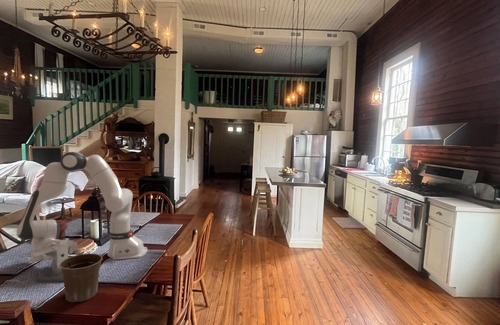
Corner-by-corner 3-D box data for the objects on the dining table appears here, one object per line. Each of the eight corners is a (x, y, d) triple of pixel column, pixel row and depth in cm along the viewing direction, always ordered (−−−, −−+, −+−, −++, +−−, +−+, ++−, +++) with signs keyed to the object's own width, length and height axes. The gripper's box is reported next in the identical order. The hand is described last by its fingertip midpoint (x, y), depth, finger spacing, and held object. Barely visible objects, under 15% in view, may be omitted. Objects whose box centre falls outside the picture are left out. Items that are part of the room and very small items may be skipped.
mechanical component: (71, 236, 193) (58, 241, 183) (59, 235, 195) (46, 240, 185) (70, 219, 192) (58, 223, 182) (58, 218, 194) (45, 222, 184)
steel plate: (82, 267, 149) (82, 263, 148) (67, 281, 135) (67, 276, 134) (54, 268, 147) (54, 263, 147) (36, 281, 133) (36, 276, 133)
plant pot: (86, 282, 135) (86, 250, 133) (110, 290, 128) (110, 256, 127) (51, 299, 120) (50, 264, 118) (77, 309, 113) (76, 272, 112)
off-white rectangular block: (63, 266, 145) (62, 244, 144) (68, 269, 141) (68, 247, 140) (52, 269, 140) (51, 247, 139) (57, 273, 137) (56, 250, 136)
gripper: (25, 248, 139) (35, 256, 131) (70, 237, 155) (82, 243, 148) (26, 260, 139) (36, 268, 131) (70, 248, 156) (82, 254, 148)
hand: (60, 255), depth 140 cm, fingers open, 8 cm apart
